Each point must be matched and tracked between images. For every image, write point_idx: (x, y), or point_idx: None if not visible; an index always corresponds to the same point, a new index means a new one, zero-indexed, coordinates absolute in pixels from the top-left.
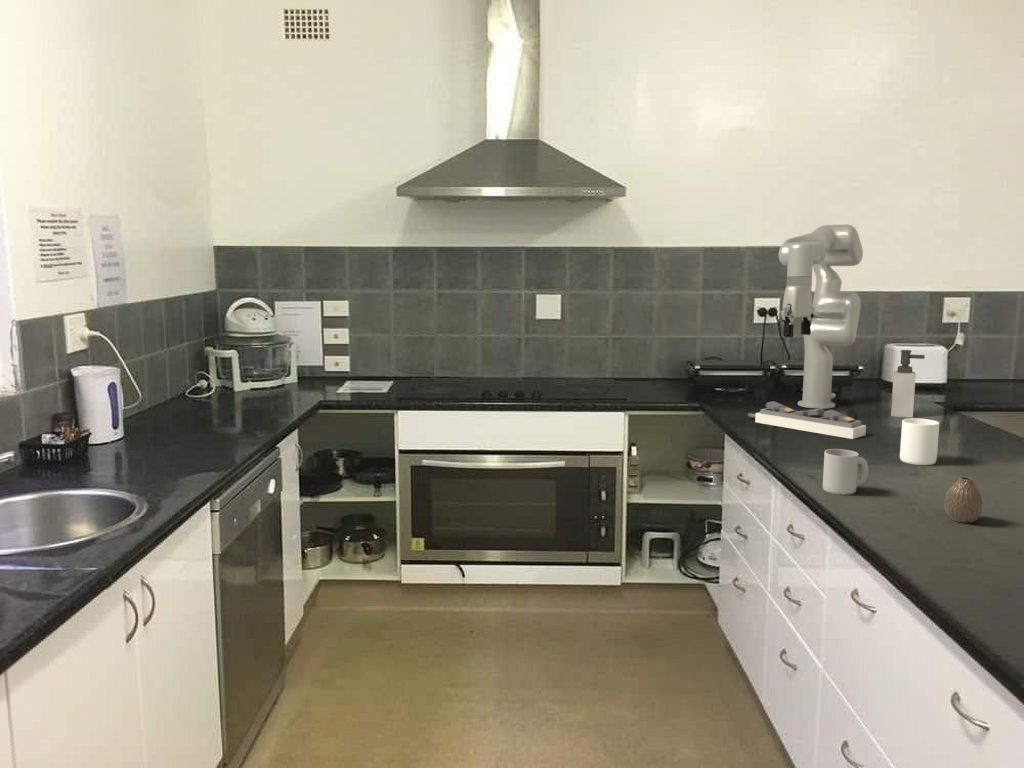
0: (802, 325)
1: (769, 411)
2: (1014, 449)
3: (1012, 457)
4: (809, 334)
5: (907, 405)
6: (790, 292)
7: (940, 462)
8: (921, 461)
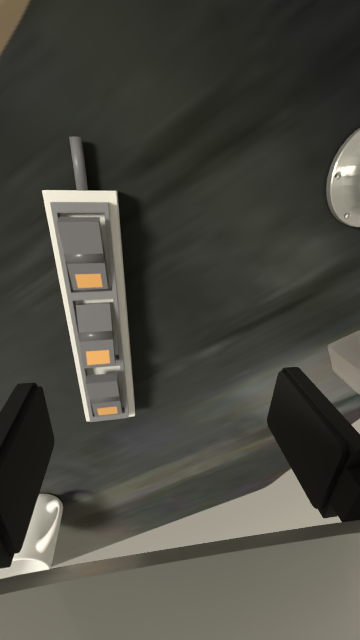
0: (318, 435)
1: (56, 235)
2: (200, 511)
3: (157, 525)
4: (270, 425)
5: (346, 377)
6: None
7: (63, 514)
8: None
